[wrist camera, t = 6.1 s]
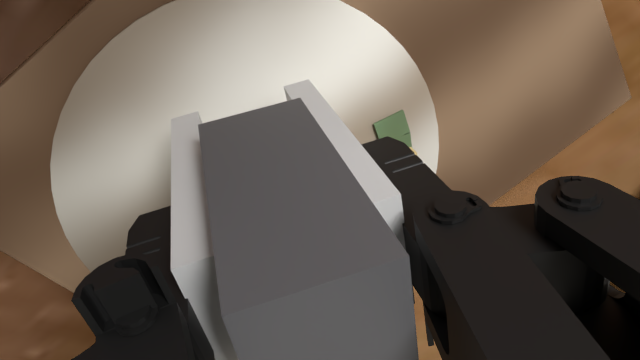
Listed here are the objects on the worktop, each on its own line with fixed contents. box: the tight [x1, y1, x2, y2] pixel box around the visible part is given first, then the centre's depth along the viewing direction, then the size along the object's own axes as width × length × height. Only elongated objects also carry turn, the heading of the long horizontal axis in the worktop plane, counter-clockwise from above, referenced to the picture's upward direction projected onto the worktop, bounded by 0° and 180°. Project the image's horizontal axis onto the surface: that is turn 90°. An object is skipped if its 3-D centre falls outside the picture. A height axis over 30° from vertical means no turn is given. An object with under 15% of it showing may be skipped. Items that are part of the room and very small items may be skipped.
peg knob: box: [198, 98, 419, 360], centre depth 13 cm, size 7×10×11 cm
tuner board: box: [0, 0, 631, 293], centre depth 19 cm, size 16×22×4 cm
